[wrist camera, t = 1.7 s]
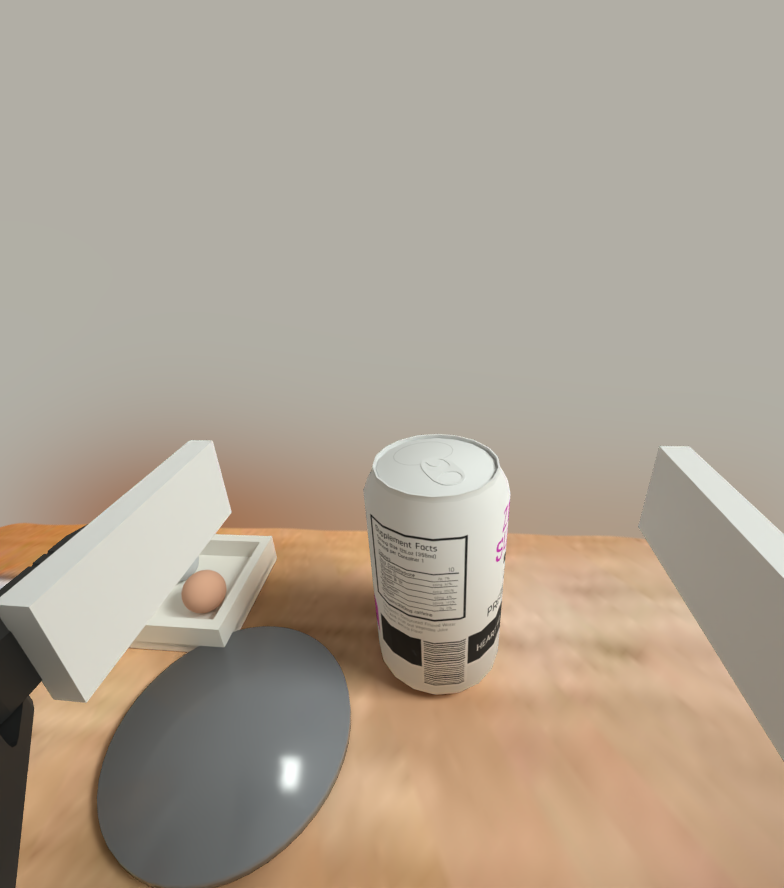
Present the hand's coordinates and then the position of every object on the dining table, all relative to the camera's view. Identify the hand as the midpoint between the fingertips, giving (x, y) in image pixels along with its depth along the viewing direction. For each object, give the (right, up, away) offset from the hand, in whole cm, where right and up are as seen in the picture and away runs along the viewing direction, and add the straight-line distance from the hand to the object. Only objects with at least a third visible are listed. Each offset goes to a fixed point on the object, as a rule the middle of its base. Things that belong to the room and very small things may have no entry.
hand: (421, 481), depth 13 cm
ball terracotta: (-15, -10, +20) cm, 27 cm away
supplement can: (+2, -13, +18) cm, 22 cm away
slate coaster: (-10, -16, +13) cm, 23 cm away
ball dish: (-17, -12, +23) cm, 31 cm away
